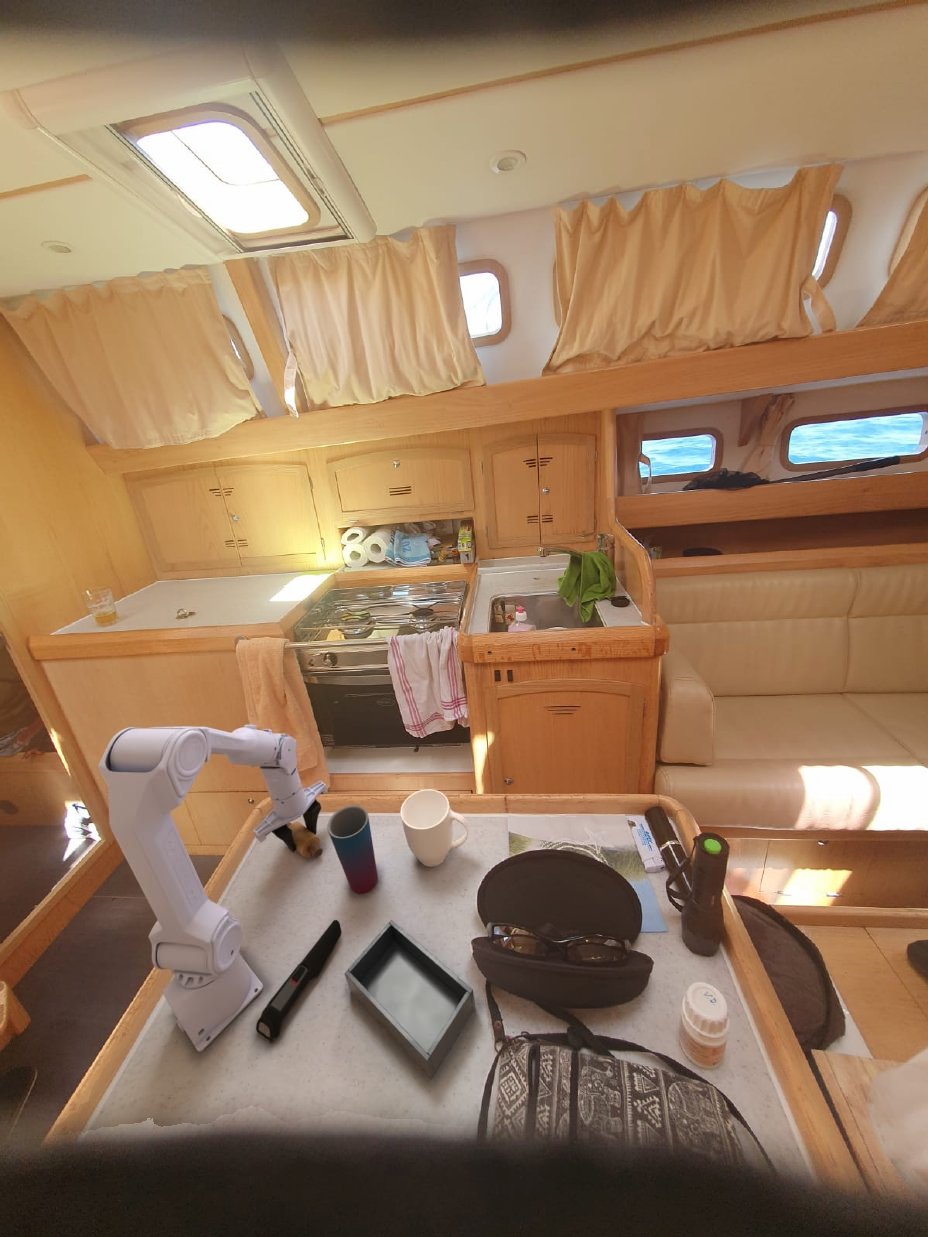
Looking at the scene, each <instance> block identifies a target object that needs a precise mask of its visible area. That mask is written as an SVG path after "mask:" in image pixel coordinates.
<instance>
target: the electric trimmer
mask: <svg viewBox="0 0 928 1237" xmlns="http://www.w3.org/2000/svg"><path fill="white" fill-rule="evenodd" d="M342 933H343V932H342V927H341V923H340V921H339V920H338V919H334V920H332V921H331V923H330V925H328V927H327V928H326V929H325V930H324V932H323V933H322V934H321V936H320V937H319V938H318V940H317V941H316V942H315V944H314V945H313V946H312V948H310V950H309V952H307V954H306V955H305V957H304V958H303V959H302V960H301V961H300V962H299V964H298V965H297V966H296V967H295V968H294V969H293V970H292V972H291V973H290V974H289V976H288V977H287V978H286V980H284V982H283V983H282V985H281V986H280V987H279V989H278V990H277V991H276V992H275V994H274V995H273V996H272V998H271V999H270V1000H269V1001H268V1003H267V1004H266V1006H265V1007H264V1008H263V1010H262V1012H261V1014H260V1017H258V1018H259V1019H258V1020H257V1022H256V1025H255V1032H256V1033H257V1034H258V1035H259V1036H260V1037H262V1038H263V1039H264V1040H266V1041H267V1042H268V1043H272V1042H273V1041H274V1040H275V1039H277V1038H279V1035H280V1032H281V1030H282V1025H283V1022H284V1020H285V1019H286V1018H287V1016H288V1015H289V1013H290V1012H291V1010H292V1008H293V1007H294V1006H295V1004H296V1003H297V1002H298V999H299V998H300V997H301V995H302V994H303V992H304V991H305V989H306V988H307V987H308V985H309V984H310V983H311V981H313V980H314V979H316V978H318V977H319V975H320V974H321V972H322V971H323V969H324V967H325V965H326V963H327V962H328V960H329V958H330V956H331V954H332V953H333V951H334V949H335V947H336V945H337V944H338V942H339V940H340V938H341V937H342Z"/></svg>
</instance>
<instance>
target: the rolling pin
mask: <svg viewBox="0 0 928 1237" xmlns="http://www.w3.org/2000/svg"><path fill="white" fill-rule="evenodd" d="M287 827H289V828H290V829H291V830H292V836H293V841H294V843H295V845H296V851H297V852H298V853H299V855H301V856H302V857H304V858H310V857H314V859H317V858H319V857H321V856H322V854H323V849H322V847H321V839H320V837H319V836H317V834H316V835H315V834H314V833H312V832H311V831H310V830H309V829H307V828H306V825H304V824H303V823H302V822H300V821H295V822H289V823H287Z"/></svg>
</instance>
